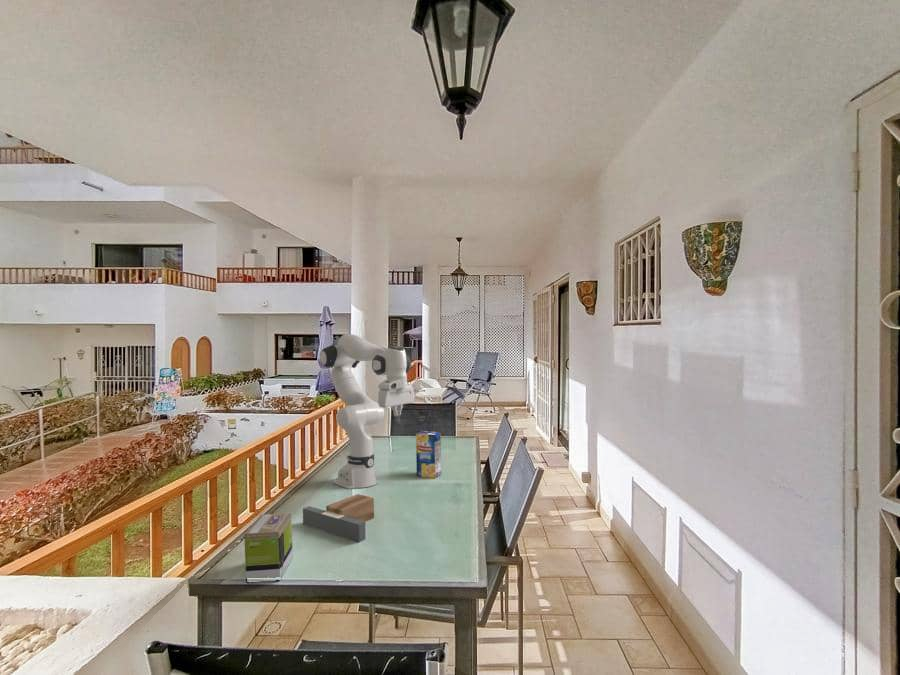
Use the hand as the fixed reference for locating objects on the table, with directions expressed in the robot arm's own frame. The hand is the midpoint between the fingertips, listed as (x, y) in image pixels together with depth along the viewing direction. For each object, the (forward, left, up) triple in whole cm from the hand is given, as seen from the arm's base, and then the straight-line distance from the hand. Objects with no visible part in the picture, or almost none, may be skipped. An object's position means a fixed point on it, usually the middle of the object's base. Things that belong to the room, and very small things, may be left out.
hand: (397, 415), depth 199 cm
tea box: (+6, -67, -37) cm, 77 cm away
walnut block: (-1, -27, -37) cm, 46 cm away
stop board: (0, -37, -37) cm, 52 cm away
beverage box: (-12, +38, -37) cm, 55 cm away
